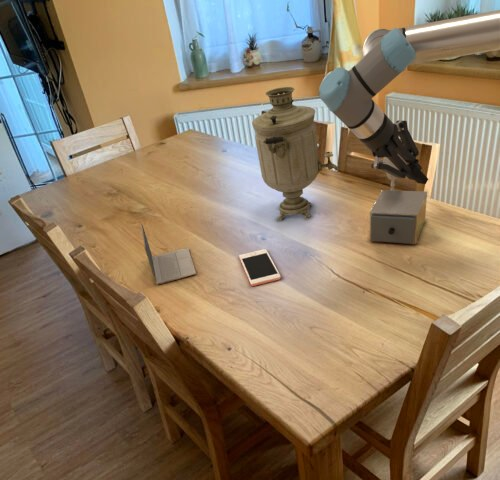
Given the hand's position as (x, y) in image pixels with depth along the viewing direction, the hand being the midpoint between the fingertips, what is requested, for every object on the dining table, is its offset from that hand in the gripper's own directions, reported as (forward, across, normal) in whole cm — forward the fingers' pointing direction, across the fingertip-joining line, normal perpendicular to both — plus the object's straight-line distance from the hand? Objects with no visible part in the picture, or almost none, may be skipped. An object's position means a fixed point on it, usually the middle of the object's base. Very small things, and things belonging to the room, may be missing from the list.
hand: (422, 181), depth 128 cm
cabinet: (+19, +8, -17) cm, 27 cm away
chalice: (+26, -2, -32) cm, 41 cm away
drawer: (+18, +9, -16) cm, 25 cm away
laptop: (-25, +52, -51) cm, 77 cm away
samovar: (+8, +15, -50) cm, 53 cm away
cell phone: (-10, +40, -30) cm, 51 cm away
